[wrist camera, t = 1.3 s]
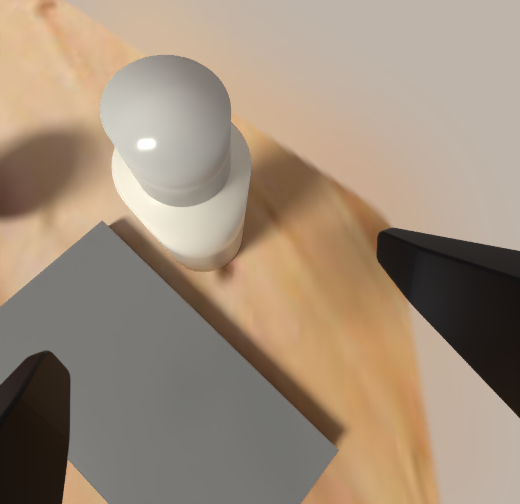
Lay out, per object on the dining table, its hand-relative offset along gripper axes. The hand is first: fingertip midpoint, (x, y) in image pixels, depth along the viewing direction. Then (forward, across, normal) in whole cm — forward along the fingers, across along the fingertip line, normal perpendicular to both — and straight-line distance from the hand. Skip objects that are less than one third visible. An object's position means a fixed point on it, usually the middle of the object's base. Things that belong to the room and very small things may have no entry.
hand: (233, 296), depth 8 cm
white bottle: (+12, 0, +4) cm, 13 cm away
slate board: (+6, +6, +10) cm, 14 cm away
